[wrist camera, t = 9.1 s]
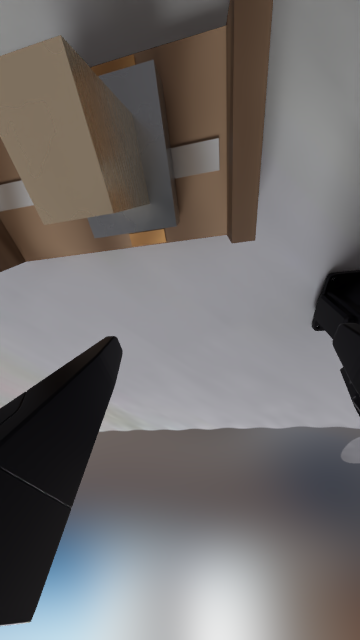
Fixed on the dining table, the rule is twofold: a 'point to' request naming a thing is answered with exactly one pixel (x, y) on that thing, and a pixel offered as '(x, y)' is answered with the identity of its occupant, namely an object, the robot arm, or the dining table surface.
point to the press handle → (88, 139)
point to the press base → (177, 144)
